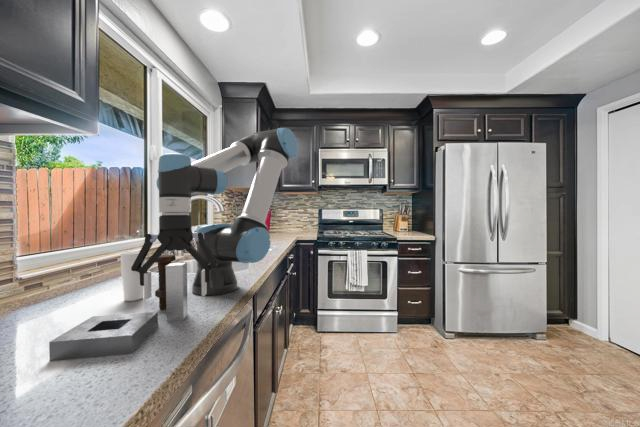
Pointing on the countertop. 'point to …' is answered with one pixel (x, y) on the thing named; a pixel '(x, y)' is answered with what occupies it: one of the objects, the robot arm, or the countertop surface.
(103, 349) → the socket block
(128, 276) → the drinking glass
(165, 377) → the countertop surface
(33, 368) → the countertop surface
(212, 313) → the countertop surface
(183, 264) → the peg
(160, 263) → the bolt
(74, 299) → the countertop surface
